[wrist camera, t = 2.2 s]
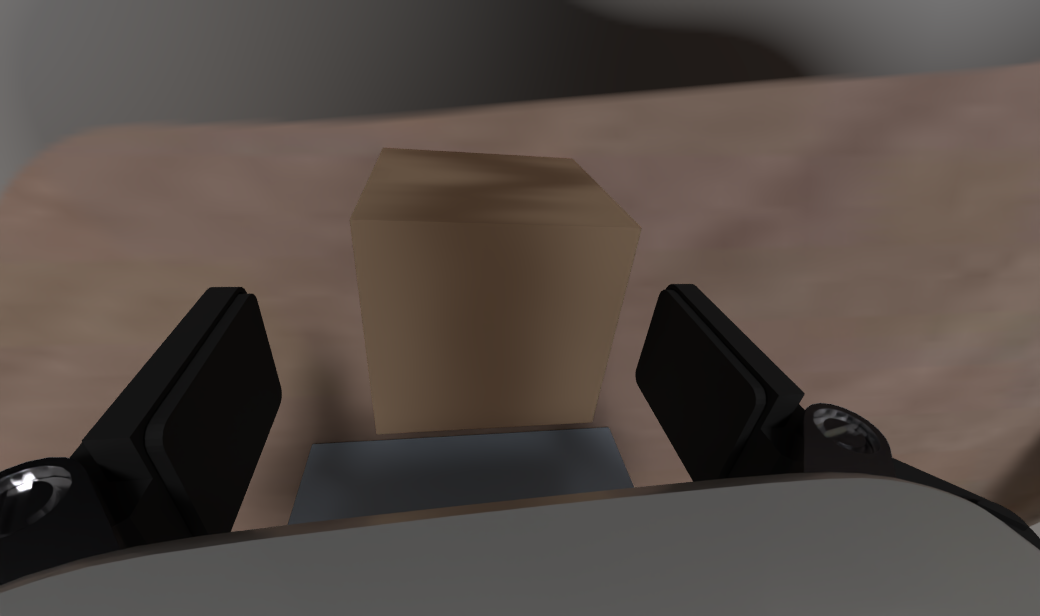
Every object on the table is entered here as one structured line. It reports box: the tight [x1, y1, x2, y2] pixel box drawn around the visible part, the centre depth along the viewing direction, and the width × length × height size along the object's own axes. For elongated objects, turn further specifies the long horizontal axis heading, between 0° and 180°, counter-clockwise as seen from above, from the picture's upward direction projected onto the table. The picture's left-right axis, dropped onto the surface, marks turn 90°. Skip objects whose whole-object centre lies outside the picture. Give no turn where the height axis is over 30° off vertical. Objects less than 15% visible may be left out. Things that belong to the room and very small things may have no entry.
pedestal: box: [288, 427, 634, 525], centre depth 23 cm, size 14×14×4 cm
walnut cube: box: [350, 148, 642, 434], centre depth 13 cm, size 6×6×6 cm
